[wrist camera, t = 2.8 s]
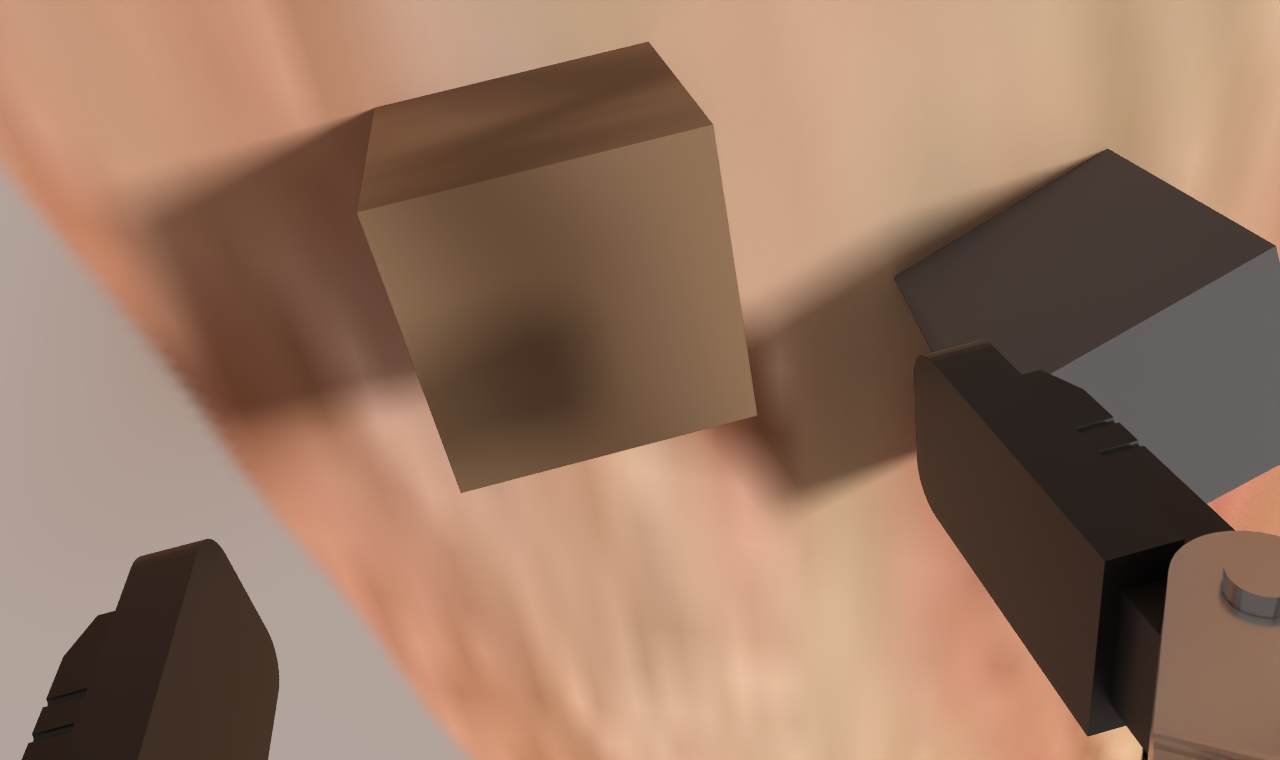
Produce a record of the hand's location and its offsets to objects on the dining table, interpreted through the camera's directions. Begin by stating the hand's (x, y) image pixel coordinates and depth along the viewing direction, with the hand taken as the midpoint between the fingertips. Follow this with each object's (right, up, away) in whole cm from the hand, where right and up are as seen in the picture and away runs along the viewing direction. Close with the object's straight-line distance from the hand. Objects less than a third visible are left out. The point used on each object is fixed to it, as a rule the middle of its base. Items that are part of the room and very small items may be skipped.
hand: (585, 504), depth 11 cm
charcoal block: (+9, +3, +11) cm, 15 cm away
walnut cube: (-1, +5, +8) cm, 9 cm away
